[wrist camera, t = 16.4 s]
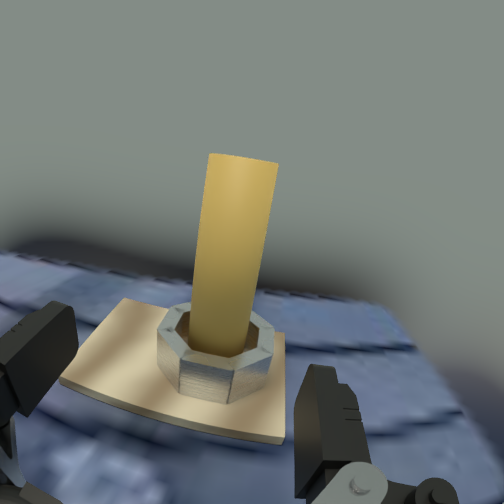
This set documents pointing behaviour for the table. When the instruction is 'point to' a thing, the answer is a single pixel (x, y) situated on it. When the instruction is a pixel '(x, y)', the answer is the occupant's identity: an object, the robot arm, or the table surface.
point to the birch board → (160, 389)
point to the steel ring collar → (213, 360)
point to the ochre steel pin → (229, 252)
